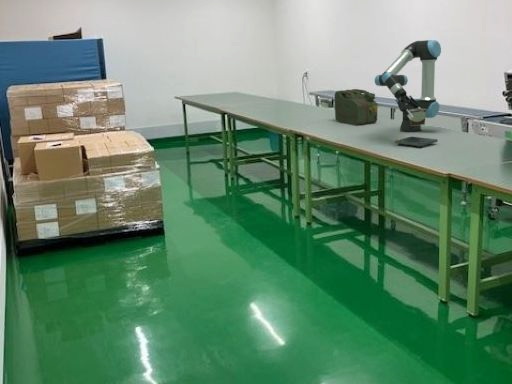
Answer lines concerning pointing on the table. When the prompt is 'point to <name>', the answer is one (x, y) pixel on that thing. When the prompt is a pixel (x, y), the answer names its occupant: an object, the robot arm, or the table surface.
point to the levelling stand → (415, 141)
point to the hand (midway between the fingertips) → (417, 117)
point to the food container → (418, 116)
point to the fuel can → (355, 107)
